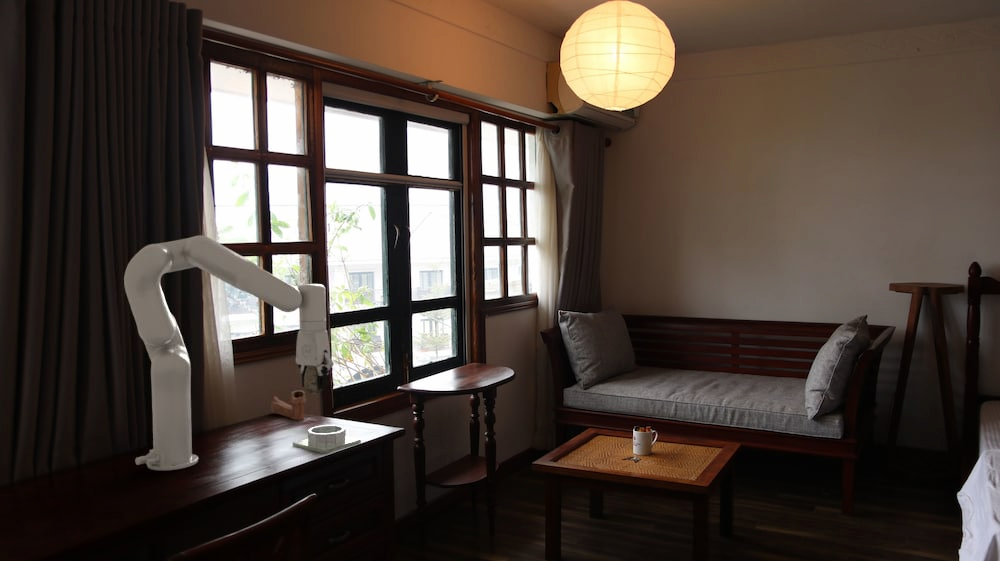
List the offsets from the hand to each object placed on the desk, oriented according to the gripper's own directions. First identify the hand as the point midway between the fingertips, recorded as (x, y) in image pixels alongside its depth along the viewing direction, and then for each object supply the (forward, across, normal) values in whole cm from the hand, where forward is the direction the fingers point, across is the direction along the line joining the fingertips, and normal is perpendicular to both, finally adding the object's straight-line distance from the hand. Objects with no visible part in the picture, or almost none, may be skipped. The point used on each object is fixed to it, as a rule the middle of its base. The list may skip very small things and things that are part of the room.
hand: (314, 386), depth 210 cm
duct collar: (+18, 0, +4) cm, 19 cm away
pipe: (+18, -37, +20) cm, 46 cm away
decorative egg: (+2, 0, 0) cm, 2 cm away
